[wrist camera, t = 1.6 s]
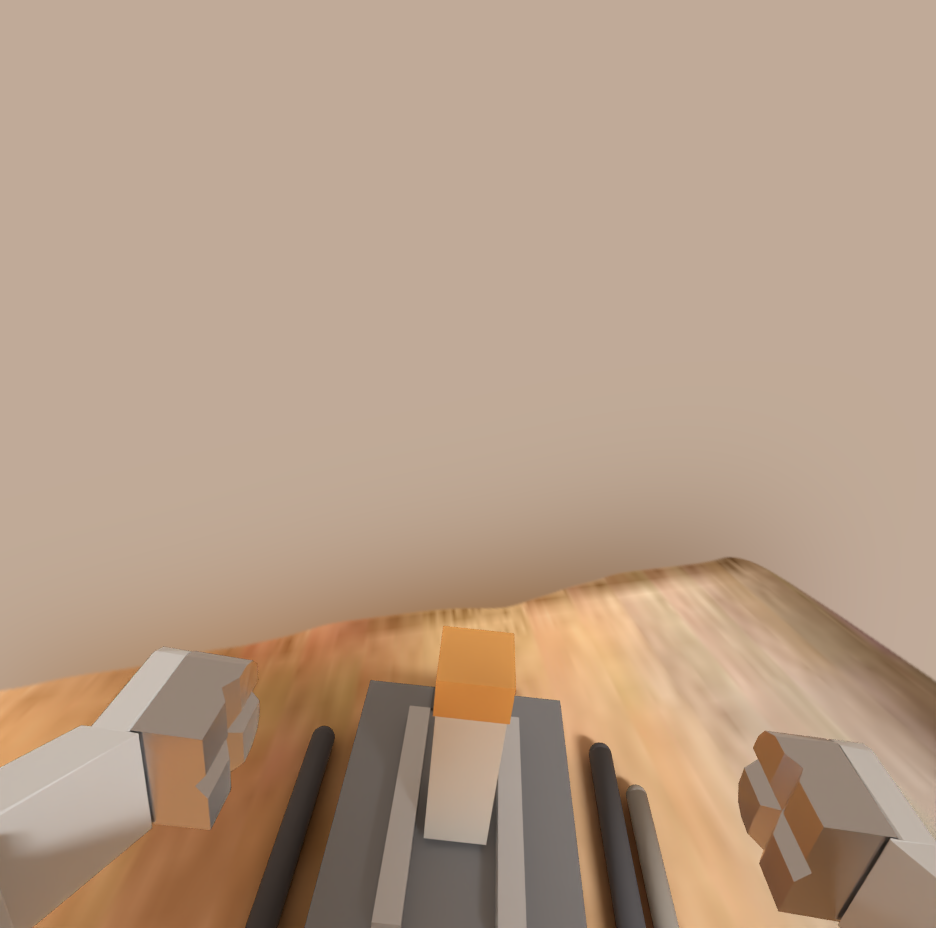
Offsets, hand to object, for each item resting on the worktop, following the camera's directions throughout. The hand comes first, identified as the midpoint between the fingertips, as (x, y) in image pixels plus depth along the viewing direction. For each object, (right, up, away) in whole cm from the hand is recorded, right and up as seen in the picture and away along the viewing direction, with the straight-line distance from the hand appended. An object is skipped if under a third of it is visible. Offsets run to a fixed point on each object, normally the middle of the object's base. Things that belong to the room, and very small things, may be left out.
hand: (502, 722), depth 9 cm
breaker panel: (-2, -17, +21) cm, 27 cm away
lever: (-1, -13, +19) cm, 23 cm away
